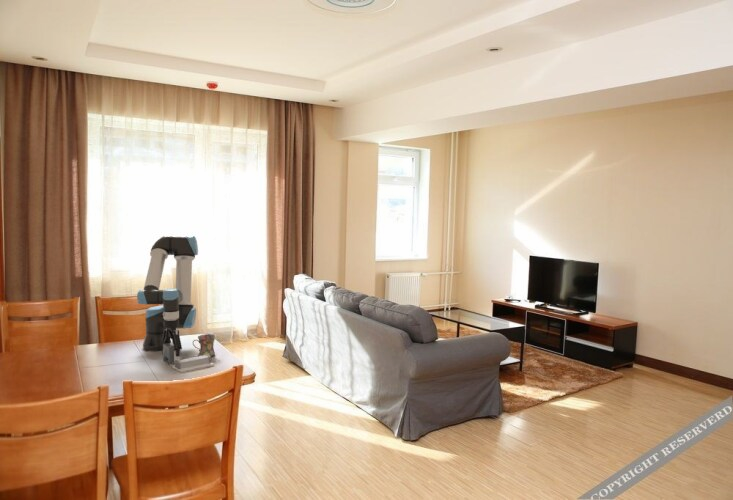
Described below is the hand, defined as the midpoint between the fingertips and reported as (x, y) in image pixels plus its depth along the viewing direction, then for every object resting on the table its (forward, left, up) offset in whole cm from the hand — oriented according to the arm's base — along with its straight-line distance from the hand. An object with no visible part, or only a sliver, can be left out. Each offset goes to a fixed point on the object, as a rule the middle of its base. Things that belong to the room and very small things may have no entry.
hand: (171, 359), depth 271 cm
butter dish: (+14, +5, -1) cm, 15 cm away
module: (0, 0, -1) cm, 1 cm away
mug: (+1, +17, -2) cm, 17 cm away
